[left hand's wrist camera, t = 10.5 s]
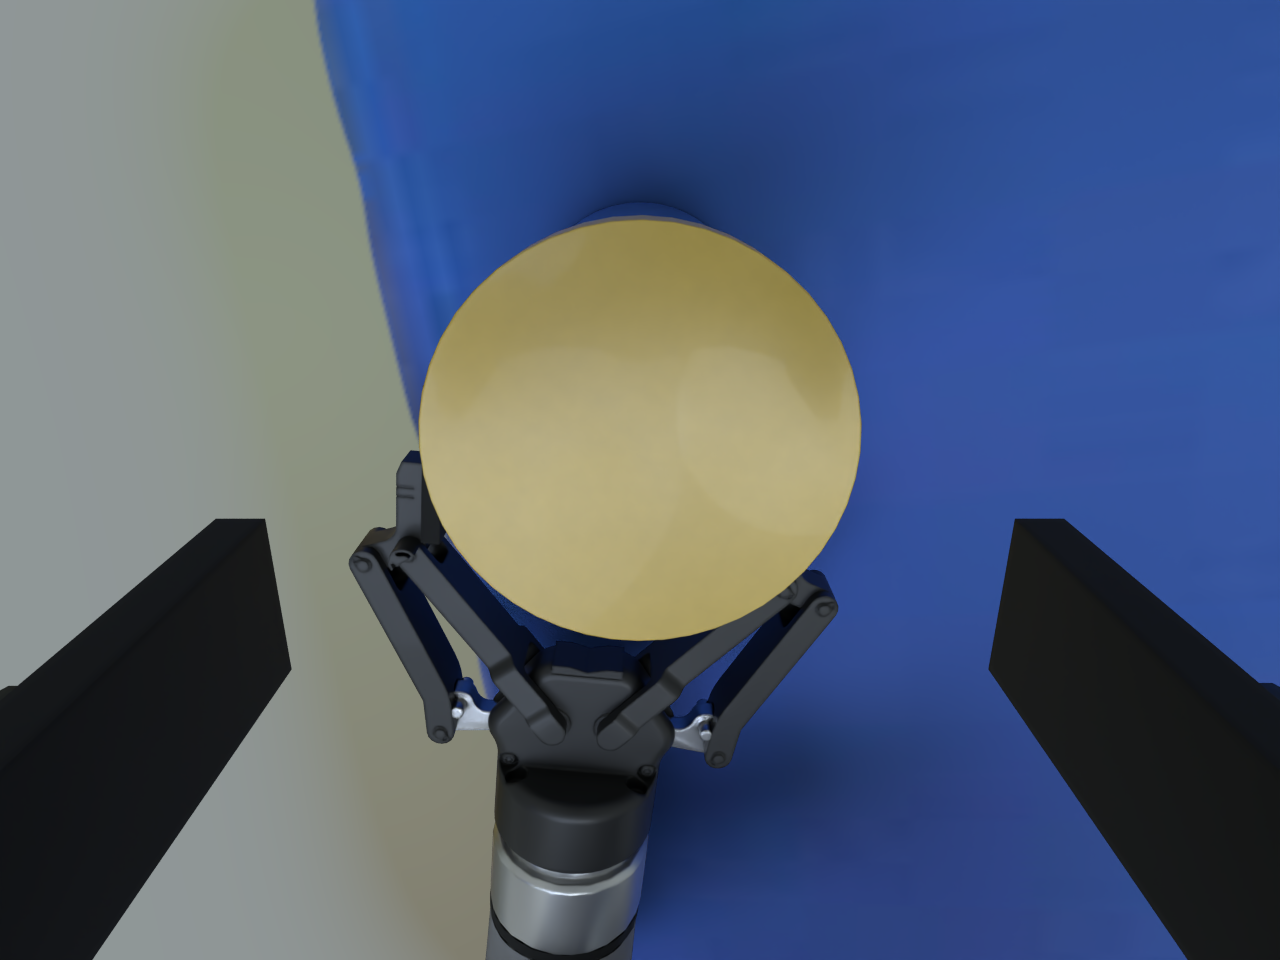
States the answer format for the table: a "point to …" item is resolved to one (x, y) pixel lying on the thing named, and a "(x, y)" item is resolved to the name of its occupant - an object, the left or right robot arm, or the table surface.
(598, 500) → the lid
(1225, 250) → the table surface
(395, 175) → the table surface
